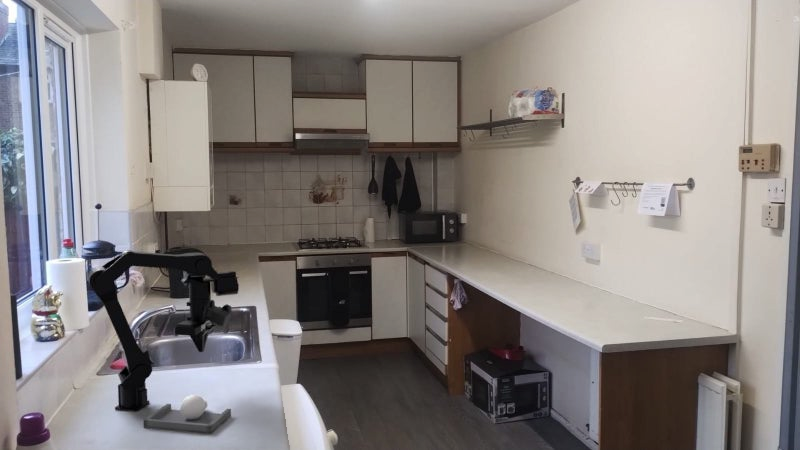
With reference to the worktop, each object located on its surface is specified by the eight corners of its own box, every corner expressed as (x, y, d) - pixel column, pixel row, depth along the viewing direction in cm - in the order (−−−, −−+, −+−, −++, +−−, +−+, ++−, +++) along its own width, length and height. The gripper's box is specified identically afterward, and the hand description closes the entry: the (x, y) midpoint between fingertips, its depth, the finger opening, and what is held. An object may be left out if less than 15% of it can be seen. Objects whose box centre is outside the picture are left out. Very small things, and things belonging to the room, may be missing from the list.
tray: (143, 427, 155) (143, 420, 155) (167, 410, 166) (167, 403, 165) (210, 433, 152) (210, 426, 151) (230, 416, 162) (230, 408, 162)
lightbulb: (213, 391, 168) (199, 393, 157) (216, 414, 166) (201, 418, 156) (191, 395, 168) (175, 397, 157) (193, 418, 167) (177, 422, 156)
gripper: (210, 306, 165) (212, 363, 166) (241, 292, 183) (241, 344, 184) (172, 304, 167) (173, 361, 168) (206, 290, 185) (207, 342, 186)
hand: (201, 351), depth 177 cm, fingers closed
